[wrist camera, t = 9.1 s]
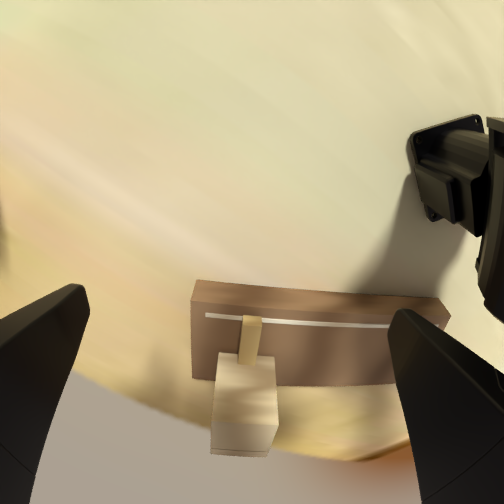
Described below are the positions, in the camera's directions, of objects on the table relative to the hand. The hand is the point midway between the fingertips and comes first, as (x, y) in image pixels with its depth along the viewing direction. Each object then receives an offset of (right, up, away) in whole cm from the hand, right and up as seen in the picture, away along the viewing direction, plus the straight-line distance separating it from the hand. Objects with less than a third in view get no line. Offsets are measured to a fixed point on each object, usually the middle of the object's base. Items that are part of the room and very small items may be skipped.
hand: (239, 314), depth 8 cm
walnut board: (+6, -5, +16) cm, 18 cm away
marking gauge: (0, -5, +16) cm, 16 cm away
